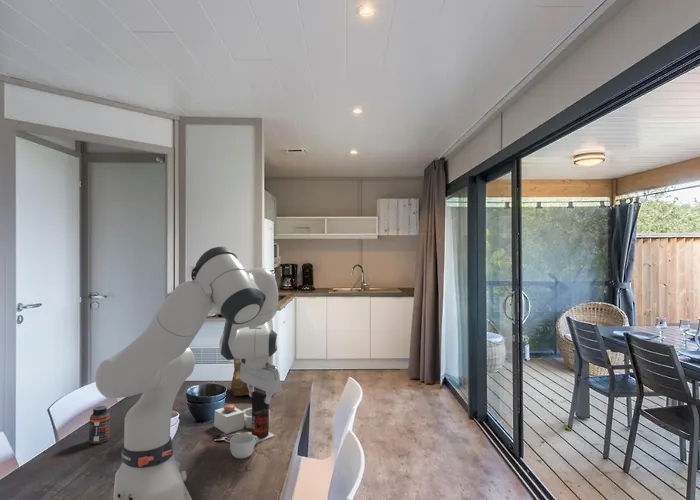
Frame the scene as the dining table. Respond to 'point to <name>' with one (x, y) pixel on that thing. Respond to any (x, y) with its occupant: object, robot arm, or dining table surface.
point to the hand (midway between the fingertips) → (259, 399)
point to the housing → (233, 420)
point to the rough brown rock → (239, 381)
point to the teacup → (242, 445)
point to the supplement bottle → (99, 425)
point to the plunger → (229, 408)
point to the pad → (265, 437)
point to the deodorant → (260, 415)
